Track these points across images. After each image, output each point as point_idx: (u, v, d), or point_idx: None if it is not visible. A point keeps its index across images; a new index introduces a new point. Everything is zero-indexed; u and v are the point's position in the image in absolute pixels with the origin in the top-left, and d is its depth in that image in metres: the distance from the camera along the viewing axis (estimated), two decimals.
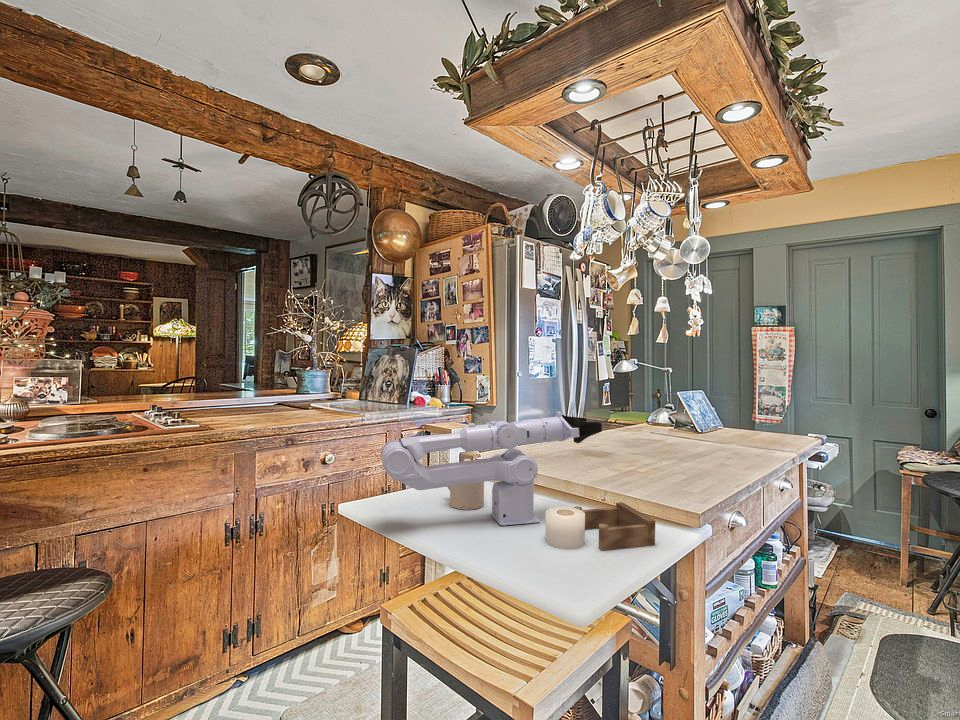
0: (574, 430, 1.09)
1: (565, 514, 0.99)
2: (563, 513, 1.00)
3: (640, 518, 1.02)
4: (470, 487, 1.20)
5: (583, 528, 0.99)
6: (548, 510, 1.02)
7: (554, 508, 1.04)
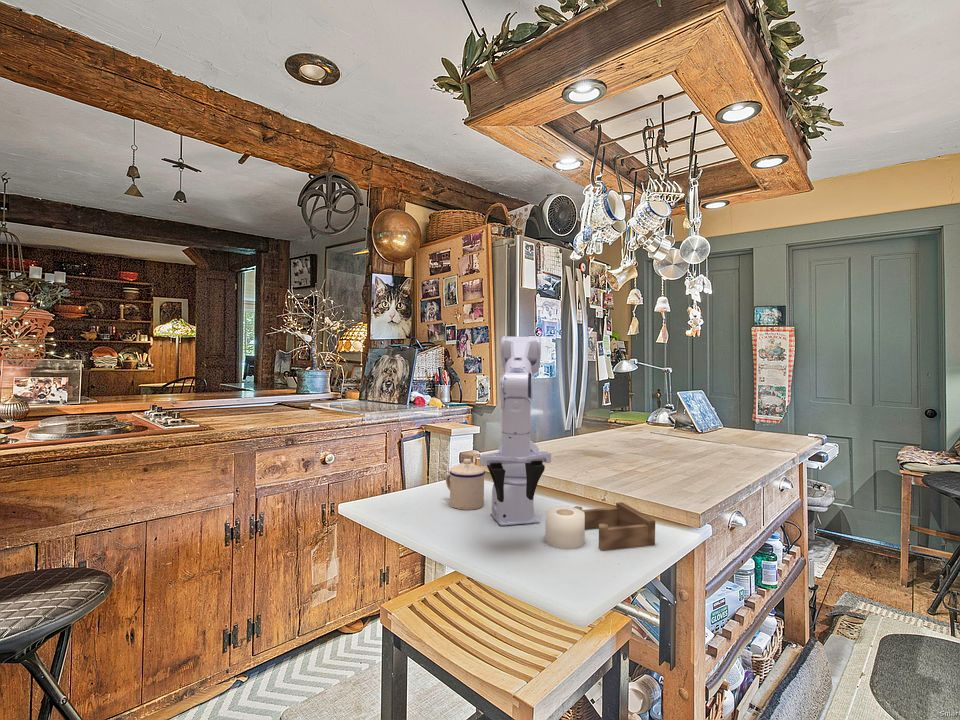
0: (481, 459, 0.95)
1: (565, 514, 0.99)
2: (563, 513, 1.00)
3: (640, 518, 1.02)
4: (470, 487, 1.20)
5: (583, 528, 0.99)
6: (548, 510, 1.02)
7: (553, 508, 1.04)
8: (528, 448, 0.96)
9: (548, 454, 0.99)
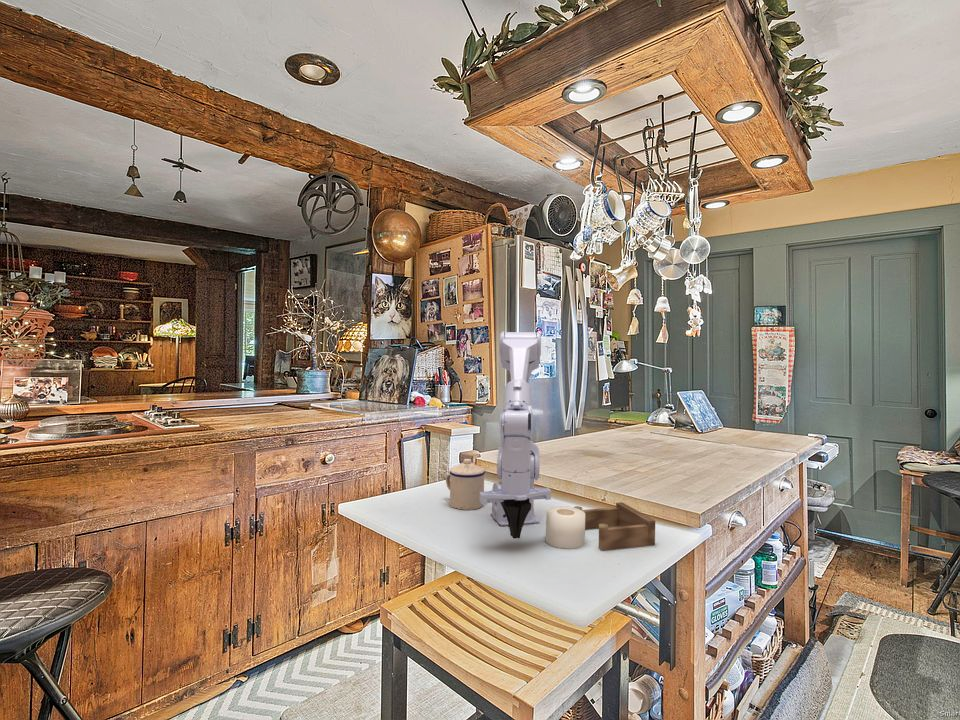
0: (481, 497, 0.95)
1: (565, 514, 0.99)
2: (563, 513, 1.00)
3: (640, 518, 1.02)
4: (470, 487, 1.20)
5: (583, 528, 0.99)
6: (548, 510, 1.02)
7: (554, 507, 1.04)
8: (528, 486, 0.96)
9: (548, 491, 0.99)
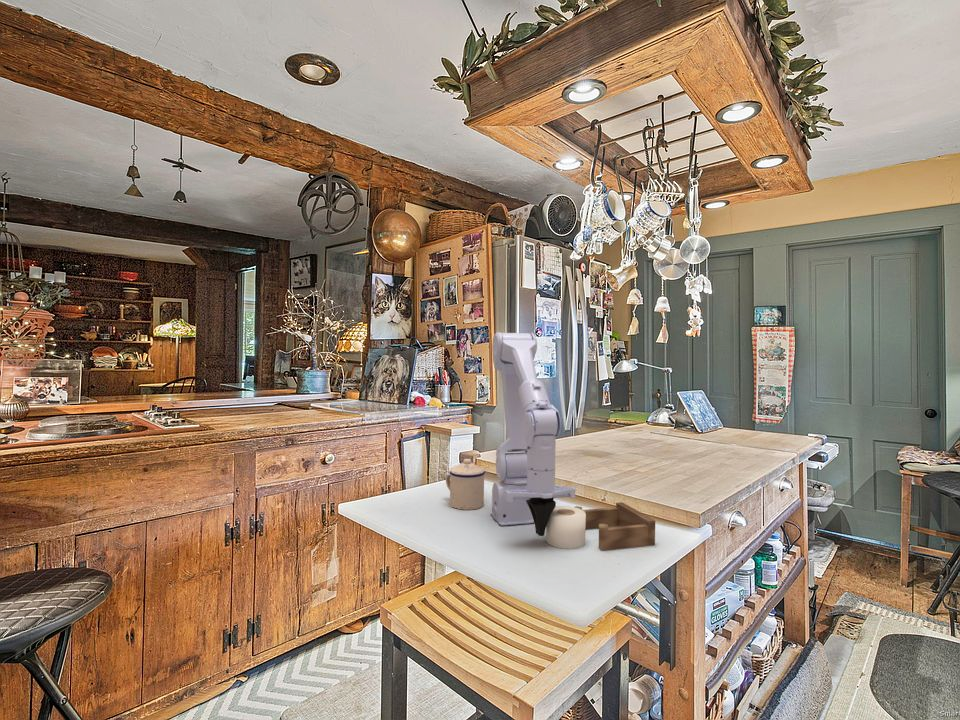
0: (507, 495, 0.97)
1: (566, 514, 0.99)
2: (564, 513, 1.00)
3: (640, 518, 1.02)
4: (470, 487, 1.20)
5: (584, 527, 0.99)
6: None
7: None
8: (553, 484, 0.98)
9: (572, 489, 1.00)
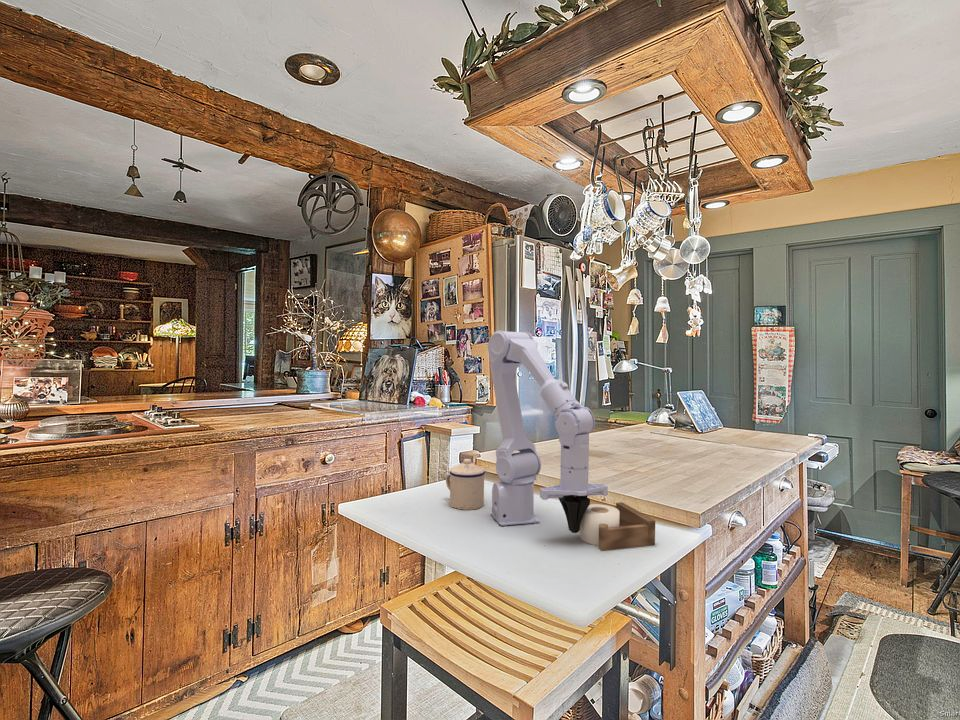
0: (542, 493, 0.99)
1: (600, 511, 1.01)
2: (598, 510, 1.02)
3: (640, 518, 1.02)
4: (470, 487, 1.20)
5: (618, 525, 1.00)
6: None
7: None
8: (587, 482, 1.00)
9: (605, 487, 1.02)
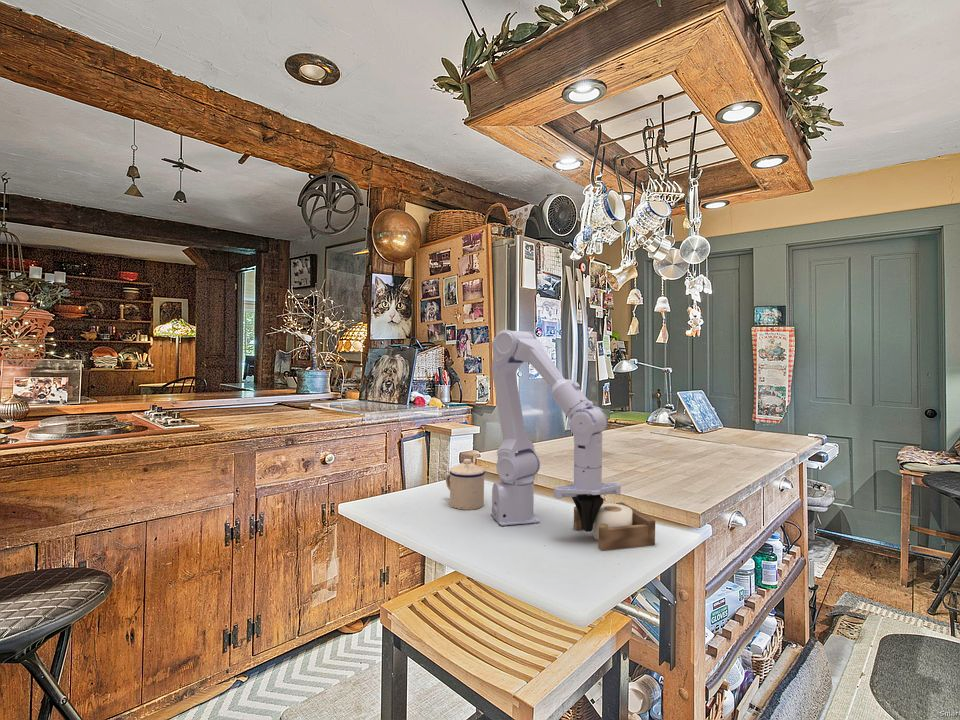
0: (556, 492, 1.00)
1: (613, 510, 1.02)
2: (611, 509, 1.03)
3: (640, 518, 1.02)
4: (470, 487, 1.20)
5: (631, 524, 1.01)
6: None
7: None
8: (600, 481, 1.01)
9: (618, 486, 1.03)
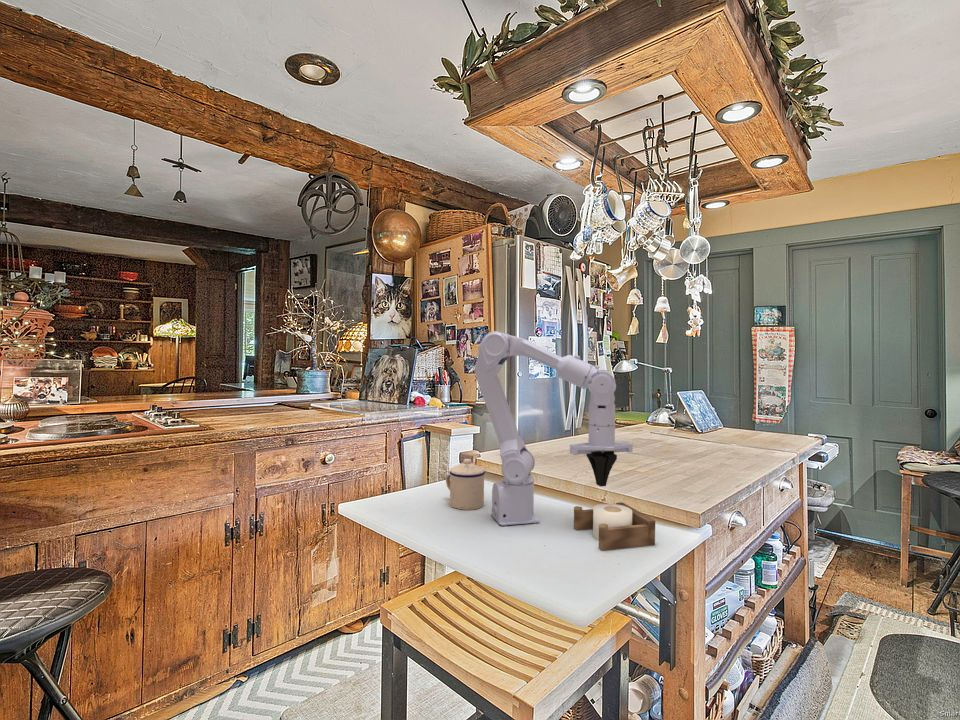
0: (572, 449, 1.06)
1: (613, 511, 1.02)
2: (611, 510, 1.03)
3: (640, 518, 1.02)
4: (470, 487, 1.20)
5: (631, 524, 1.01)
6: (595, 507, 1.05)
7: (600, 505, 1.06)
8: (614, 439, 1.07)
9: (630, 444, 1.10)
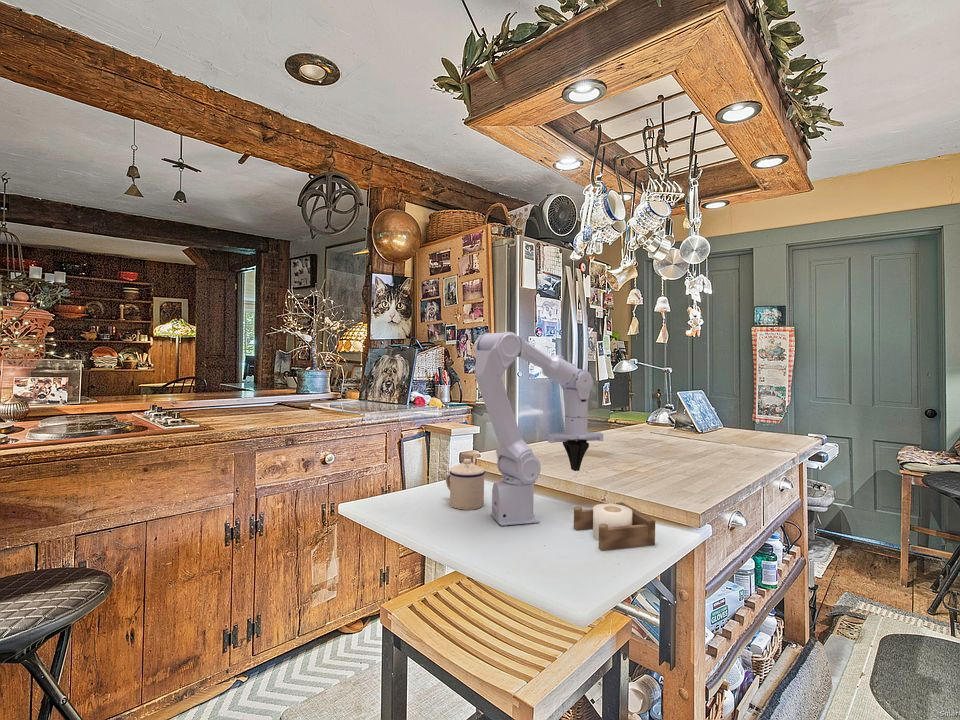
0: (550, 437, 1.21)
1: (613, 511, 1.02)
2: (611, 510, 1.03)
3: (640, 518, 1.02)
4: (470, 487, 1.20)
5: (631, 524, 1.01)
6: (595, 507, 1.05)
7: (600, 505, 1.06)
8: (586, 429, 1.22)
9: (601, 434, 1.24)
